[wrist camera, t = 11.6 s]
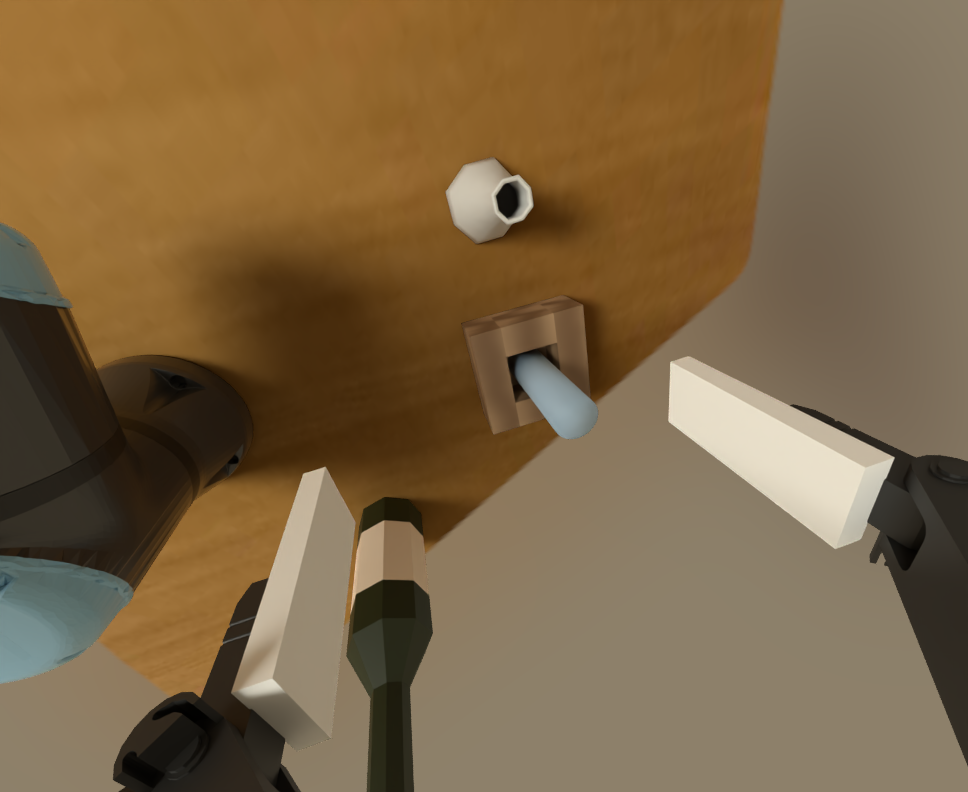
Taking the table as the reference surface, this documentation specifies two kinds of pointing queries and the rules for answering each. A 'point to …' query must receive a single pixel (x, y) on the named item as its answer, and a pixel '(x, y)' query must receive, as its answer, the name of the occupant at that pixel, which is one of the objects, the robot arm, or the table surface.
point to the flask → (487, 200)
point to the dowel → (554, 394)
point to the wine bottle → (389, 633)
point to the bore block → (517, 331)
